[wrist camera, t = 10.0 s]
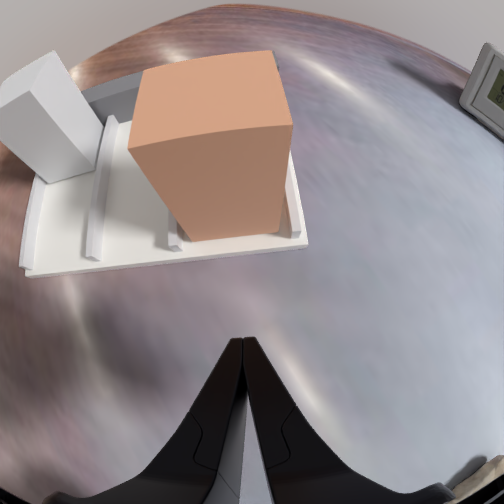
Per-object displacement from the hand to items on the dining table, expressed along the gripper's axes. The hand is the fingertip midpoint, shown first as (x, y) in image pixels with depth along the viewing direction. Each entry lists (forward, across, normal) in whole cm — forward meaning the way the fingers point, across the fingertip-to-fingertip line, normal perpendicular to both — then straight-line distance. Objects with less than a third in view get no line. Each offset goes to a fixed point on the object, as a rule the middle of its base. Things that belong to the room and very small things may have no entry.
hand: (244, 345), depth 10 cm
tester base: (+17, +8, -3) cm, 19 cm away
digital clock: (+22, -36, -7) cm, 43 cm away
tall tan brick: (+13, +1, -1) cm, 13 cm away
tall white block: (+18, +16, -6) cm, 25 cm away
